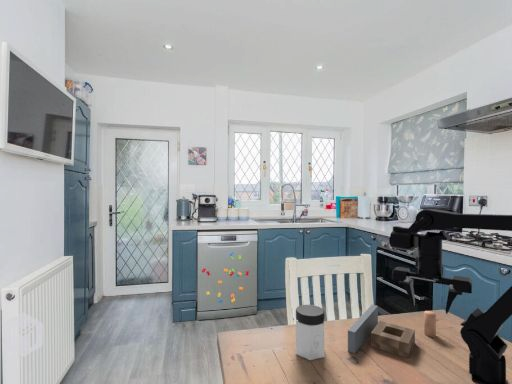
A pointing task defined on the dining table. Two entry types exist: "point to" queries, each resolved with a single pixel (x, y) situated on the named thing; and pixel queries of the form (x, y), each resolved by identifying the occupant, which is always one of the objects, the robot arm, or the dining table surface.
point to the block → (393, 338)
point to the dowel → (430, 323)
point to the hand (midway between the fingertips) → (429, 309)
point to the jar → (310, 331)
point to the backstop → (362, 328)
